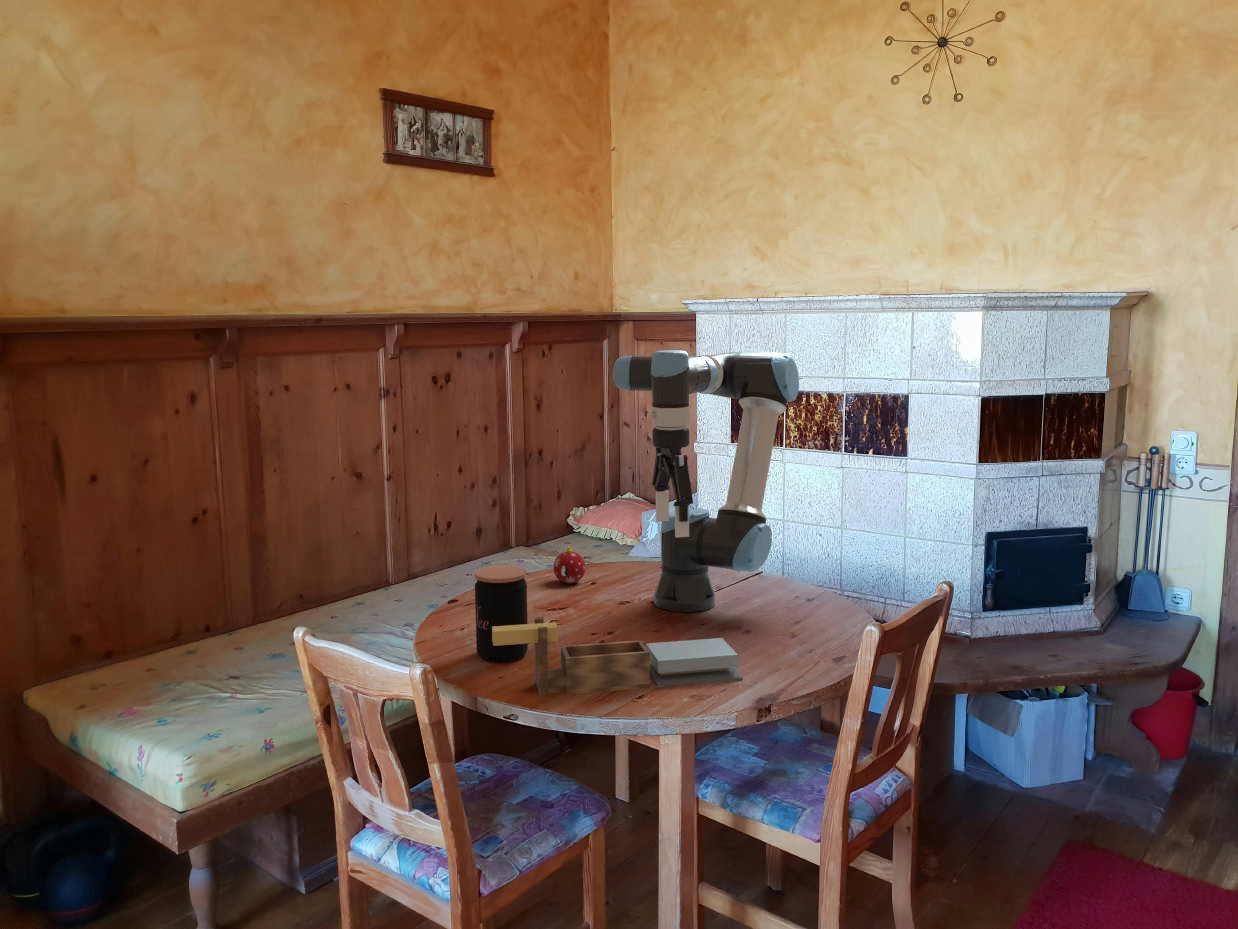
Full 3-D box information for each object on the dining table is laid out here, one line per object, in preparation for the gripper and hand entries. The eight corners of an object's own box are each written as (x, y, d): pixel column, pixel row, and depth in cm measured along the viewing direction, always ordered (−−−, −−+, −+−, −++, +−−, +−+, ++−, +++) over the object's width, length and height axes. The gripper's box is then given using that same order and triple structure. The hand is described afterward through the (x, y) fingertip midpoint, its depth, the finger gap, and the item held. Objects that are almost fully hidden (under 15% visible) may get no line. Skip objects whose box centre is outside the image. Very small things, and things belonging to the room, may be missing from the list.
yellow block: (555, 636, 177) (555, 622, 176) (558, 641, 174) (557, 627, 174) (492, 640, 174) (492, 626, 174) (493, 645, 172) (493, 631, 171)
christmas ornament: (590, 580, 251) (590, 544, 249) (578, 589, 243) (577, 551, 241) (561, 577, 254) (561, 541, 252) (548, 585, 246) (547, 548, 244)
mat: (721, 656, 193) (721, 654, 193) (742, 680, 181) (742, 677, 181) (642, 663, 190) (642, 660, 190) (657, 687, 177) (657, 684, 177)
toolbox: (641, 674, 184) (641, 610, 182) (649, 687, 177) (649, 621, 175) (535, 682, 180) (534, 617, 178) (539, 696, 173) (538, 629, 171)
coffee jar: (478, 647, 199) (476, 565, 197) (528, 645, 200) (526, 564, 198) (474, 665, 189) (472, 579, 186) (527, 663, 190) (526, 577, 187)
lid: (721, 656, 192) (722, 637, 191) (737, 674, 182) (737, 654, 181) (646, 662, 188) (646, 643, 188) (658, 680, 179) (658, 660, 178)
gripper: (636, 420, 200) (638, 516, 204) (671, 437, 176) (672, 545, 180) (670, 418, 202) (671, 513, 206) (708, 434, 178) (709, 542, 182)
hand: (672, 528), depth 193 cm, fingers open, 13 cm apart
